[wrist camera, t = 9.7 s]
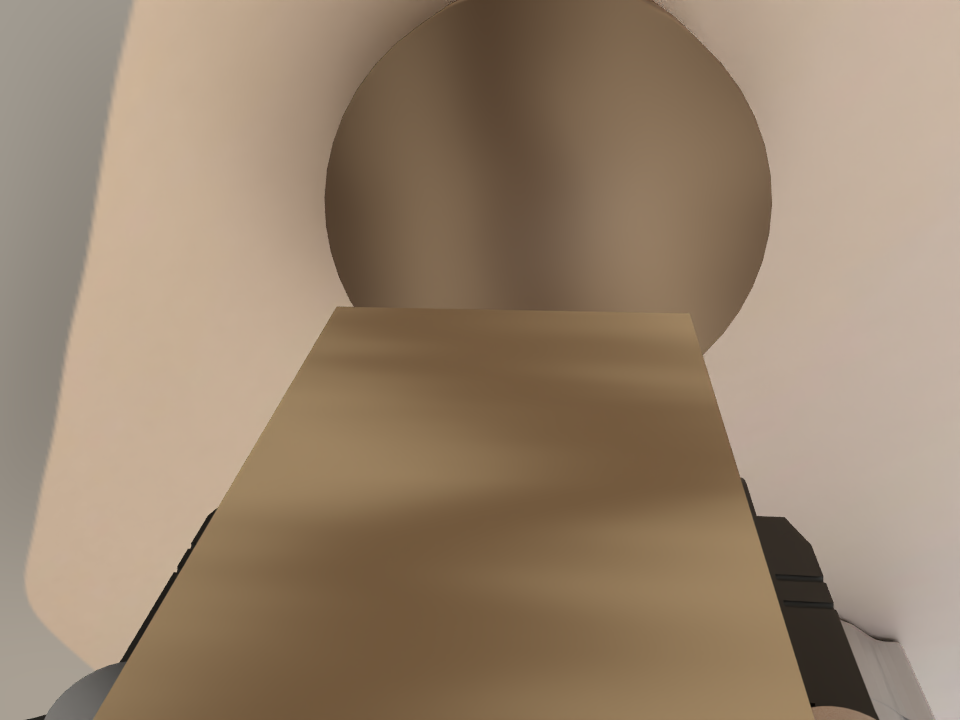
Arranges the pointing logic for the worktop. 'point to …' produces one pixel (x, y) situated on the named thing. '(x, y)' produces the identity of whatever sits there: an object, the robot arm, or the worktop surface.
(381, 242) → the walnut plinth
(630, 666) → the oak block
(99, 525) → the worktop surface
